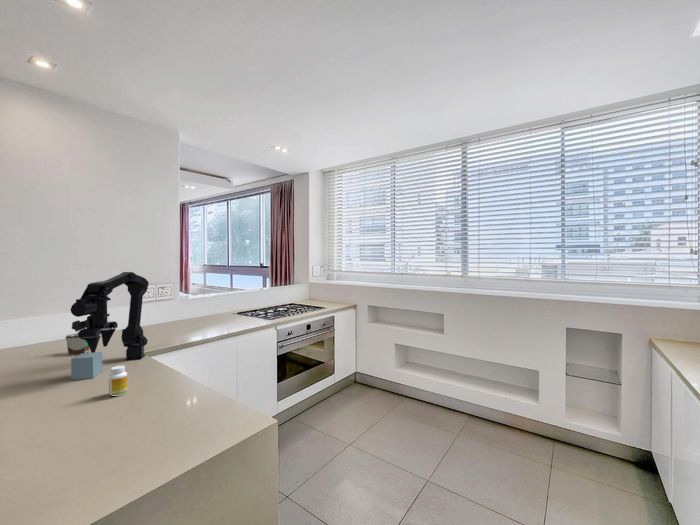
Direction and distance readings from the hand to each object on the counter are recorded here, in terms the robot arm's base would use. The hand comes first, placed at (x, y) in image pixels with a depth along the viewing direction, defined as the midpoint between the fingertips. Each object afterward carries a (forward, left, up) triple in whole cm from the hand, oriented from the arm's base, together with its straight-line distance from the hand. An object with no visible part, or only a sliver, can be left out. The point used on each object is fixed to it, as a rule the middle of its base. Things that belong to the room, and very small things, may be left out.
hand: (99, 349), depth 132 cm
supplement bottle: (-17, +24, -11) cm, 31 cm away
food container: (+27, -40, -11) cm, 50 cm away
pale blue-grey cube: (+4, 0, -11) cm, 12 cm away
